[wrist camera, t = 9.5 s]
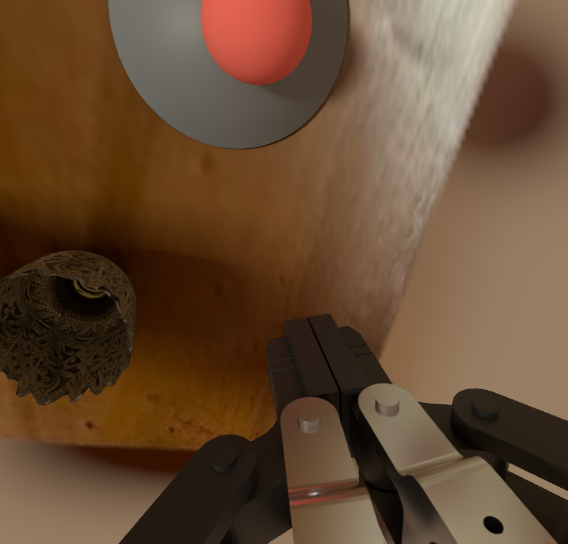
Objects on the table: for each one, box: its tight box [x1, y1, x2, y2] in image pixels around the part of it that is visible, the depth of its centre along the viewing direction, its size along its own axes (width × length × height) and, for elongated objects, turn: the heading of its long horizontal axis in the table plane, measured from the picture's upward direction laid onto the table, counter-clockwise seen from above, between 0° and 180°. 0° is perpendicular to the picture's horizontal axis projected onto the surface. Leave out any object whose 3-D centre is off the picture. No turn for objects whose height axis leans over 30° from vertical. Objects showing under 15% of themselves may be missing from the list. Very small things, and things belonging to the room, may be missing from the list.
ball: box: [201, 0, 312, 85], centre depth 19 cm, size 6×6×6 cm
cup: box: [0, 250, 136, 405], centre depth 22 cm, size 8×7×8 cm
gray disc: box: [108, 0, 348, 149], centre depth 21 cm, size 13×13×1 cm
